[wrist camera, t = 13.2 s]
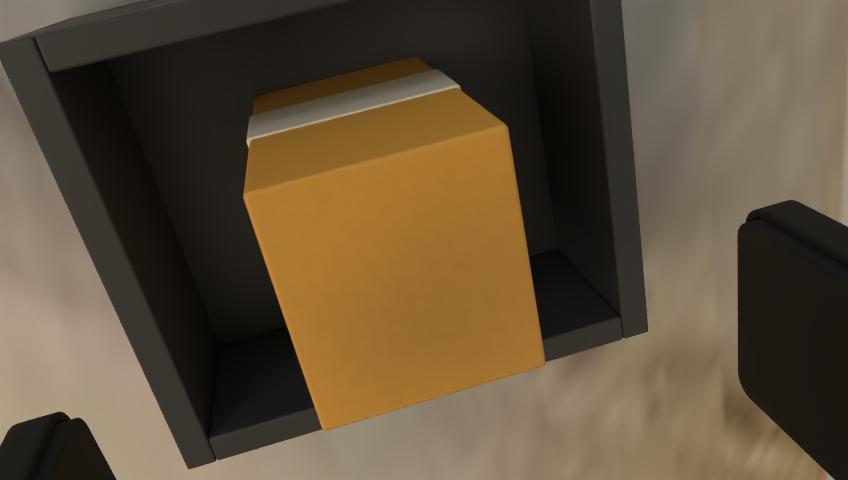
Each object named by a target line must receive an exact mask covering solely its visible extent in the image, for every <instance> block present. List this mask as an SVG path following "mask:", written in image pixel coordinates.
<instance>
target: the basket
mask: <svg viewBox="0 0 848 480" xmlns="http://www.w3.org/2000/svg"><path fill="white" fill-rule="evenodd" d="M411 57H418V58H419V59H420V60H422V61H423V62H424V63H426V64H427V65H428V66H429V67H431V68H432V69H433V70H435V69H438V70H440V71H441V72H442V73H444V74H445V75H446V76H448V77H449V78H450V79H452V80H453V81H454V82H456V83H457V84H458V85H459V86H460V88H461V91H462V92H464V93H465V94H466V95H468V96H469V97H470V98H472V99H473V100H474V101H475V102H477V103H478V104H479V105H481V106H482V107H483V108H485V109H486V110H487V111H489V112H490V113H491V114H493V115H494V116H495V117H496V118H498V119H499V120H500V121H502V122H503V123H504V124H506V125H507V127H508V130H509V137H510V143H511V149H512V155H513V162H514V168H515V174H516V180H517V187H518V193H519V199H520V205H521V212H522V218H523V224H524V230H525V237H526V243H527V249H528V255H529V262H530V268H531V274H532V280H533V287H534V293H535V299H536V305H537V311H538V318H539V324H540V330H541V336H542V343H543V349H544V355H545V362H548V361H551V360H554V359H558V358H561V357H564V356H568V355H571V354H574V353H578V352H581V351H584V350H588V349H591V348H594V347H598V346H601V345H604V344H608V343H611V342H614V341H618V340H621V339H622V338H628V337H631V336H635V335H638V334H641V333H645V332H647V331H648V322H647V310H646V298H645V286H644V273H643V261H642V249H641V237H640V225H639V213H638V201H637V189H636V177H635V165H634V153H633V141H632V128H631V116H630V104H629V92H628V80H627V68H626V56H625V44H624V32H623V20H622V8H621V0H147V1H142V2H138V3H134V4H129V5H125V6H121V7H117V8H112V9H108V10H104V11H99V12H95V13H91V14H86V15H82V16H78V17H74V18H69V19H66V20H64V21H61V22H58V23H55V24H52V25H50V26H47V27H44V28H41V29H38V30H35V31H33V32H30V33H27V34H24V35H21V36H18V37H16V38H13V39H10V40H7V41H4V42H1V43H0V61H1V63H2V65H3V67H4V69H5V71H6V74H7V76H8V78H9V80H10V82H11V84H12V87H13V89H14V91H15V93H16V95H17V98H18V100H19V102H20V104H21V106H22V108H23V111H24V113H25V115H26V117H27V119H28V121H29V124H30V126H31V128H32V130H33V132H34V135H35V137H36V139H37V141H38V143H39V145H40V148H41V150H42V152H43V154H44V156H45V159H46V161H47V163H48V165H49V167H50V169H51V172H52V174H53V176H54V178H55V180H56V182H57V185H58V187H59V189H60V191H61V193H62V196H63V198H64V200H65V202H66V204H67V206H68V209H69V211H70V213H71V215H72V217H73V219H74V222H75V224H76V226H77V228H78V230H79V233H80V235H81V237H82V239H83V241H84V243H85V246H86V248H87V250H88V252H89V254H90V256H91V259H92V261H93V263H94V265H95V267H96V270H97V272H98V274H99V276H100V278H101V280H102V283H103V285H104V287H105V289H106V291H107V293H108V296H109V298H110V300H111V302H112V304H113V307H114V309H115V311H116V313H117V315H118V317H119V320H120V322H121V324H122V326H123V328H124V330H125V333H126V335H127V337H128V339H129V341H130V344H131V346H132V348H133V350H134V352H135V354H136V357H137V359H138V361H139V363H140V365H141V367H142V370H143V372H144V374H145V376H146V378H147V381H148V383H149V385H150V387H151V389H152V391H153V394H154V396H155V398H156V400H157V402H158V404H159V407H160V409H161V411H162V413H163V415H164V418H165V420H166V422H167V424H168V426H169V428H170V431H171V433H172V435H173V437H174V439H175V441H176V444H177V446H178V448H179V450H180V452H181V455H182V457H183V459H184V461H185V463H186V465H187V468H188V469H192V468H195V467H199V466H202V465H205V464H209V463H212V462H215V461H216V458H217V460H221V459H224V458H228V457H231V456H234V455H238V454H241V453H244V452H248V451H251V450H254V449H258V448H261V447H264V446H268V445H271V444H274V443H278V442H281V441H284V440H288V439H291V438H294V437H298V436H301V435H304V434H308V433H311V432H314V431H318V430H321V429H323V428H322V427H321V424H320V421H319V418H318V415H317V412H316V410H315V407H314V404H313V401H312V398H311V395H310V392H309V389H308V386H307V383H306V380H305V377H304V374H303V371H302V369H301V366H300V363H299V360H298V357H297V354H296V351H295V348H294V345H293V342H292V339H291V336H290V333H289V330H288V328H287V325H286V322H285V319H284V316H283V313H282V310H281V307H280V304H279V301H278V298H277V295H276V292H275V289H274V287H273V284H272V281H271V278H270V275H269V272H268V269H267V266H266V263H265V260H264V257H263V254H262V251H261V248H260V246H259V243H258V240H257V237H256V234H255V231H254V228H253V225H252V222H251V219H250V216H249V213H248V210H247V207H246V205H245V202H244V199H243V195H244V186H245V177H246V169H247V160H248V152H249V148H248V145H247V134H248V126H249V118H250V117H251V116H253V109H254V100H255V97H256V96H259V95H263V94H267V93H271V92H275V91H279V90H283V89H287V88H291V87H295V86H299V85H303V84H307V83H311V82H315V81H319V80H323V79H327V78H331V77H335V76H339V75H343V74H347V73H351V72H355V71H359V70H363V69H367V68H371V67H375V66H379V65H383V64H387V63H391V62H395V61H399V60H403V59H407V58H411Z"/></svg>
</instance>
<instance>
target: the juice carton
mask: <svg viewBox="0 0 848 480" xmlns="http://www.w3.org/2000/svg"><path fill="white" fill-rule="evenodd" d="M247 145H248V148H249V152H248V160H247V169H246V177H245V186H244V195H243V199H244V202H245V205H246V207H247V210H248V213H249V216H250V219H251V222H252V225H253V228H254V231H255V234H256V237H257V240H258V243H259V246H260V248H261V251H262V254H263V257H264V260H265V263H266V266H267V269H268V272H269V275H270V278H271V281H272V284H273V287H274V289H275V292H276V295H277V298H278V301H279V304H280V307H281V310H282V313H283V316H284V319H285V322H286V325H287V328H288V330H289V333H290V336H291V339H292V342H293V345H294V348H295V351H296V354H297V357H298V360H299V363H300V366H301V369H302V371H303V374H304V377H305V380H306V383H307V386H308V389H309V392H310V395H311V398H312V401H313V404H314V407H315V410H316V412H317V415H318V418H319V421H320V424H321V427H322V428H323V430H324V431H328V430H331V429H334V428H338V427H341V426H344V425H348V424H351V423H354V422H358V421H361V420H364V419H368V418H371V417H374V416H378V415H381V414H384V413H388V412H391V411H394V410H398V409H401V408H404V407H407V406H411V405H414V404H417V403H421V402H424V401H427V400H431V399H434V398H437V397H441V396H444V395H447V394H451V393H454V392H457V391H461V390H464V389H467V388H471V387H474V386H477V385H481V384H484V383H487V382H491V381H494V380H497V379H501V378H504V377H507V376H511V375H514V374H517V373H521V372H524V371H527V370H531V369H534V368H537V367H541V366H543V365H545V355H544V349H543V343H542V336H541V330H540V324H539V318H538V311H537V305H536V299H535V293H534V287H533V280H532V274H531V268H530V262H529V255H528V249H527V243H526V237H525V230H524V224H523V218H522V212H521V205H520V199H519V193H518V187H517V180H516V174H515V168H514V162H513V155H512V149H511V143H510V137H509V130H508V127H507V125H506V124H504V123H503V122H502V121H500V120H499V119H498V118H496V117H495V116H494V115H493V114H491V113H490V112H489V111H487V110H486V109H485V108H483V107H482V106H481V105H479V104H478V103H477V102H475V101H474V100H473V99H472V98H470V97H469V96H468V95H466V94H465V93H464V92H462V91H461V88H460V86H459V85H458V84H457V83H456V82H454V81H453V80H452V79H450V78H449V77H448V76H446V75H445V74H444V73H442V72H441V71H440V70H438V69H435V70H433V69H432V68H431V67H429V66H428V65H427V64H426V63H424V62H423V61H422V60H420V59H419V58H418V57H411V58H407V59H403V60H399V61H395V62H391V63H387V64H383V65H379V66H375V67H371V68H367V69H363V70H359V71H355V72H351V73H347V74H343V75H339V76H335V77H331V78H327V79H323V80H319V81H315V82H311V83H307V84H303V85H299V86H295V87H291V88H287V89H283V90H279V91H275V92H271V93H267V94H263V95H259V96H256V97H255V100H254V109H253V116H251V117H250V118H249V126H248V134H247Z"/></svg>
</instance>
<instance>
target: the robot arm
mask: <svg viewBox="0 0 848 480" xmlns="http://www.w3.org/2000/svg"><path fill="white" fill-rule="evenodd" d="M738 375H739V380H740V383H741V385H742V388H743V390H744V391H745V393H746V394H747V396H748V397H749V398H750V399H751V400H752V401H753V402H754V403H755V404H756V405H757V406H758V407H759V408H760V409H761V410H763V411H764V412H765V413H766V414H767V415H768V416H769V417H770V418H771V419H772V420H773V421H774V422H775V423H776V424H777V425H778V426H779V427H780V428H781V429H782V430H783V431H784V432H785V433H787V434H788V435H789V436H790V437H791V438H792V439H793V440H794V441H795V442H796V443H797V444H798V445H799V446H800V447H801V448H802V449H803V450H804V451H805V452H806V453H807V454H808V455H810V456H811V457H812V458H813V459H814V460H815V461H816V462H817V463H818V464H819V465H820V466H821V467H822V468H823V469H824V470H825V471H826V472H827V473H828V474H829V475H830V476H832V477H833V478H834V479H835V480H848V227H847V226H845V225H843V224H841V223H839V222H837V221H835V220H833V219H831V218H829V217H827V216H825V215H823V214H821V213H819V212H817V211H815V210H813V209H811V208H809V207H807V206H805V205H803V204H801V203H799V202H797V201H794V200H788V201H784V202H781V203H777V204H774V205H770V206H767V207H763V208H760V209H756V210H753V211H752V212H750V213H749V214H748V217H747V219H746V223H744V224H742V225H741V226H740V228H739V230H738ZM0 480H116V478H115V476H114V474H113V472H112V470H111V469H110V467H109V465H108V463H107V461H106V459H105V457H104V456H103V454H102V452H101V450H100V448H99V446H98V444H97V442H96V441H95V439H94V437H93V435H92V433H91V431H90V429H89V428H88V426H87V424H86V423H85V421H83V420H82V419H81V418H75V419H72V420H71V419H70V418H69V417H68V416H67V415H66V414H65V413H63V412H56V413H53V414H49V415H46V416H42V417H39V418H35V419H32V420H28V421H25V422H22V423H18V424H16V425H13V426H12V427H11V428H10V429H9V431H8V432H7V434H6V436H5V438H4V440H3V442H2V444H1V446H0Z"/></svg>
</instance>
